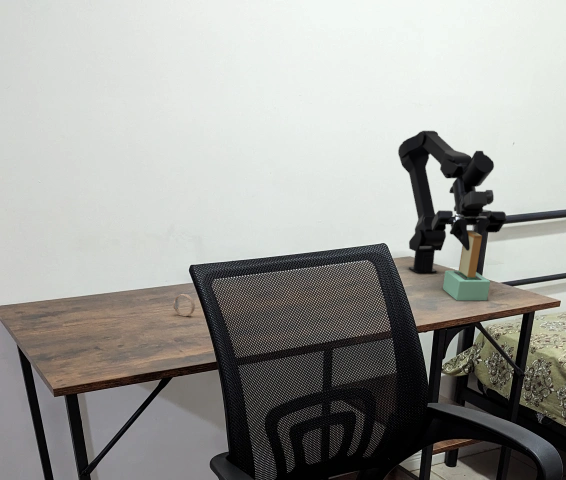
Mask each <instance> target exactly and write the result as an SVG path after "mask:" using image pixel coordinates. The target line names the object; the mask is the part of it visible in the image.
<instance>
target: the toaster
mask: <svg viewBox="0 0 566 480" xmlns="http://www.w3.org/2000/svg"><path fill="white" fill-rule="evenodd" d="M443 277H444V278H443V285H442V286H443V287H442V290H444V291H445V292H446V293H447V294H448V295H450V297H452V298H453V299H454V300H455V301H488V296H489V291H490V286H491V281H490V280H489V279H487V278H486V277H485V276H483V275H481V274H480V273H479V272H477V271H476V275H475V277H467V276H466V275H464V274H463V273H461V272H460V271H459V270H445V271H444V276H443Z"/></svg>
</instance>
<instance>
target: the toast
mask: <svg viewBox="0 0 566 480" xmlns="http://www.w3.org/2000/svg"><path fill="white" fill-rule="evenodd" d="M467 232H468V238H469V245H470V249H469V250H468V251H467V250H466V249H465V247H464V246H463V245H461V254H460V258H459V265H458V271H460V272H461V273H463V274H464V275H466V276H467V277H475V275H476V272H477V268H478V263H479V259H480V258H479V257H480V250H481V245H482V240H483V235H480V234H478V233H476V232H474V231H473V229H472V230H471V229H467Z"/></svg>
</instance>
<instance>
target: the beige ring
mask: <svg viewBox="0 0 566 480" xmlns="http://www.w3.org/2000/svg"><path fill="white" fill-rule="evenodd" d="M179 297H185V298H187V299H188V301H189V302H190V305H191V310H190V312H189V313H187V314H186V313H183V312H182V311H181V310H180V309H179V307H180V300H179ZM172 303H173V304H172V305H173V306H172V307H173V310H174V312H176V313H177V315H179V316H181V317H189V316H191V315H192V314H193V313H194V311H195V309H196V304H195V301H194V299H193V297H191V296H190V295H189V294H187V293H181V294H179V295H177V296H176V297H175V298H174V300H173V302H172Z"/></svg>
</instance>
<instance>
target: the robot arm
mask: <svg viewBox="0 0 566 480" xmlns="http://www.w3.org/2000/svg"><path fill="white" fill-rule="evenodd" d="M397 152H398V153H397V154H398V157H399V160H400V163H401V166H402V167H403V169H404V170H405V171H406V172H407V173H408V174H409V179H410V186H411V189H412V194H413V201H414V204H415V210H416V214H417V219H418V220H417V221H416V224H415V227H414V234H413V235H412V237H411V238H410V240H409V241H408V247H409V248H408V249H409V250H411V251H413V252H414V260H413V266H408V269H409V270H411V271H413V272H415V273H416V274H430V273H431V274H432V273H437V272H438V271H437V270H436V269H434V260H435V253H436V252H435V251H438V252H439V251H440V252H441V251H442V249H443V247H444V243H445V242H446V241H445V240H446V237H447V233H446V229H447V226H446V225H450V231H449V235H453V236H454V237H455V238H456V239H457V240H458V242H459V243H460V244H461V246H464V247H465V249H466V250H467V251H468V250H469V249H470V245H469V238H468V232H467V230H468V226H472V227H473V229H472V231H474V232H476V233H478V234H480V235H481V236H483V235H484V233H485V232H486V233H495V234H496V233H499V232H500V231H501V229H502V228H503V226H504V225H505V223H506V221H507V219H508V218H507V214H506V212H505V211H501V210H500V211H498V210H497V211H496V210H491V211H490V212H489V213H488V215H487V216H484V215H483V216H481V215H480V214H483V212H484V207H486V206H488V205H491V204H492V203H493V202H494V200H495V199H494V198H495V196H494V190H493V189H485V191H478V190H476V188H477V187H480V186H482V185H483V183H484V181H485V180H486V179H487V178H488V176H489V175H490V174H491V173H492V172H493V170H494V168H495V164H494V163H495V162H494V161H493V160H492V159H491V157H490V156H488V155H487V154H485V153H484V150H475V152H474V153H473V155H472V156H471V155H469V154H467V153H465V152H462V151H458V150H456V149H454V148H453V147H451V145H450V144H448V143H447V142H446V141H445V140H444V139H443V138H442V137H441V136H440V135H439V133H438V132H437V131H435V130H421V131H419V132H418V133H417V134H416V135H414V136H411V137H409V138H407V139H405V140H403V141H402V143H401V144H400V145H399V147H398V150H397ZM430 155H431V156H432V158H434V159H435V160H436V161H437V162H438V163H439V165H440V168H439V170H440V172H441V174H442V175H443V176H444V178H445V179H455V180H454V181H453V182H452V185H451V187H450V188H449V191H448V192H449V194H453V199H454V207H453V211H452V210H439V209H438V210H437V212H435V207H434V203H433V198H432V193H431V187H430V183H429V178H428V173H427V169H426V168H427V164H428V162H429V159H430ZM453 212H455V213H456V214H454V213H453Z"/></svg>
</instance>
